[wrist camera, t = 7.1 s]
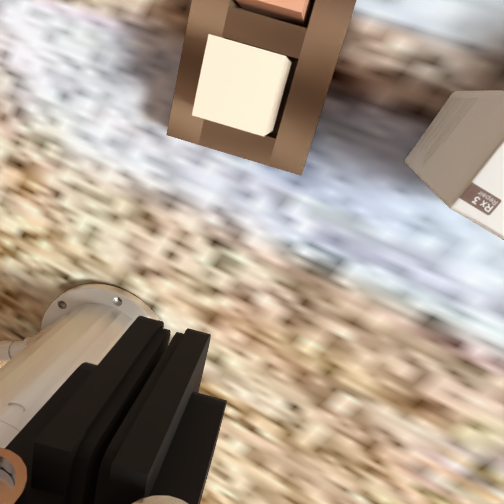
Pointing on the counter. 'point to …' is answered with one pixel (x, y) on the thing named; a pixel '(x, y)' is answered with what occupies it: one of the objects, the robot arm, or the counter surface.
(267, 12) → the terracotta key
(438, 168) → the skincare box
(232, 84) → the cream key
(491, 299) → the counter surface
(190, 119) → the brown slotted tray
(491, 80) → the counter surface
